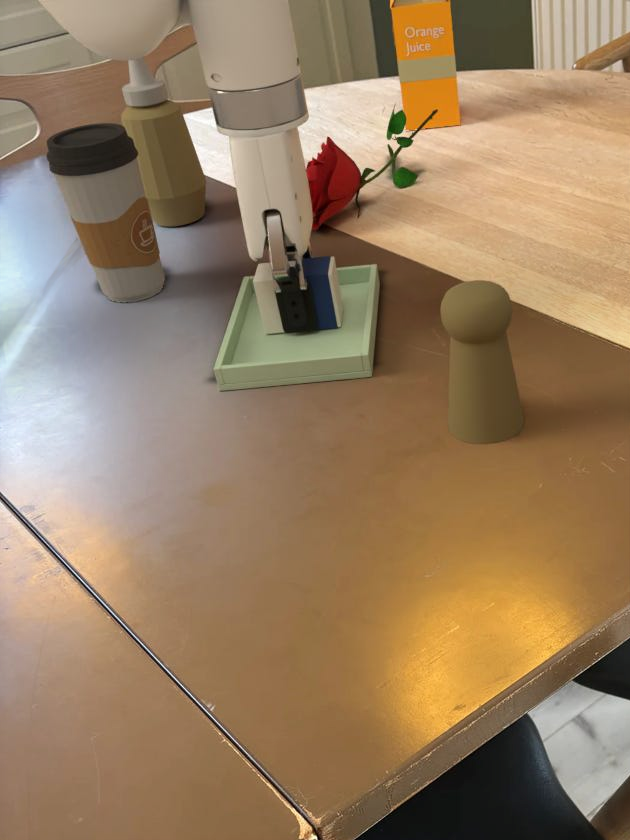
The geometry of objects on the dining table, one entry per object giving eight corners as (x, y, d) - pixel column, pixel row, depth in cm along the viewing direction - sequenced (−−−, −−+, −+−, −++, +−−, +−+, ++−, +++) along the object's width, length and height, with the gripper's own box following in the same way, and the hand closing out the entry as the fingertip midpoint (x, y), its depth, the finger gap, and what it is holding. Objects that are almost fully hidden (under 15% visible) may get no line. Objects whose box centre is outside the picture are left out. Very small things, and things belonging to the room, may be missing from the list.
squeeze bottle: (194, 201, 124) (150, 33, 112) (226, 216, 119) (184, 43, 107) (134, 221, 120) (81, 50, 108) (164, 237, 115) (113, 60, 103)
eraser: (265, 335, 93) (252, 281, 89) (270, 315, 96) (258, 262, 92) (341, 328, 93) (331, 273, 89) (343, 308, 96) (334, 255, 92)
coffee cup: (147, 310, 101) (97, 151, 91) (78, 305, 103) (21, 148, 93) (191, 276, 106) (148, 122, 96) (124, 271, 109) (75, 120, 99)
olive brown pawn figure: (459, 451, 77) (444, 313, 69) (439, 413, 81) (423, 279, 74) (534, 433, 78) (527, 295, 70) (511, 397, 82) (502, 264, 75)
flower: (408, 51, 123) (276, 153, 106) (474, 92, 123) (353, 201, 106) (389, 119, 131) (263, 225, 113) (451, 158, 131) (336, 270, 113)
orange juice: (458, 107, 144) (444, -62, 131) (461, 125, 138) (446, -51, 124) (404, 113, 144) (383, -56, 131) (404, 131, 138) (383, -44, 124)
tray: (219, 391, 87) (213, 369, 86) (248, 297, 101) (243, 276, 100) (372, 377, 87) (368, 354, 85) (379, 284, 101) (376, 263, 99)
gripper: (227, 80, 88) (273, 285, 100) (196, 140, 76) (252, 365, 88) (313, 72, 88) (348, 278, 100) (296, 130, 75) (338, 357, 88)
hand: (303, 316), depth 94 cm, fingers closed on eraser, 4 cm apart
